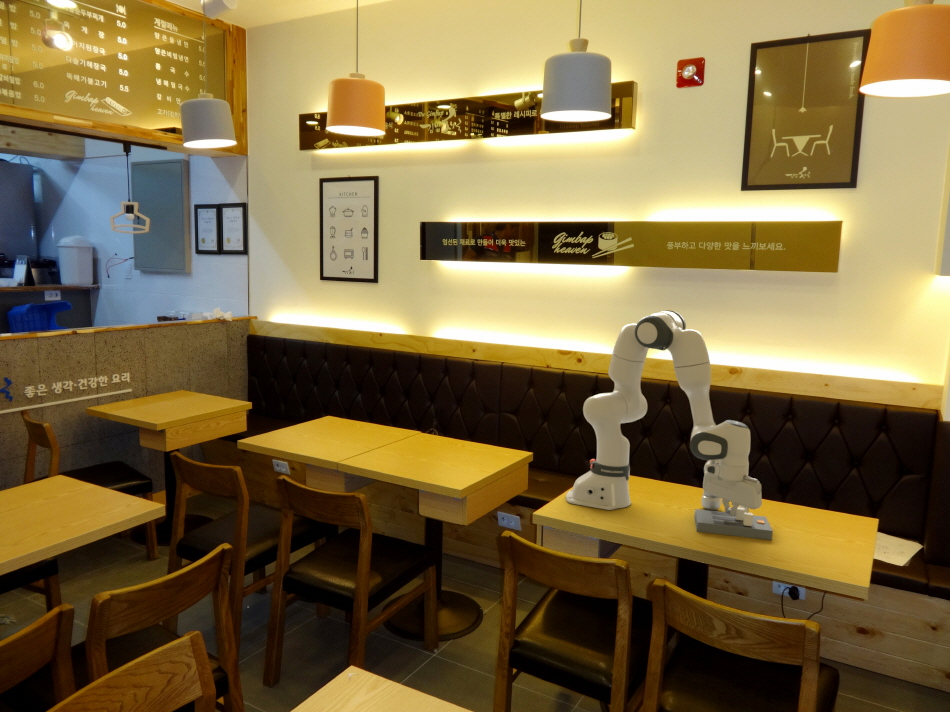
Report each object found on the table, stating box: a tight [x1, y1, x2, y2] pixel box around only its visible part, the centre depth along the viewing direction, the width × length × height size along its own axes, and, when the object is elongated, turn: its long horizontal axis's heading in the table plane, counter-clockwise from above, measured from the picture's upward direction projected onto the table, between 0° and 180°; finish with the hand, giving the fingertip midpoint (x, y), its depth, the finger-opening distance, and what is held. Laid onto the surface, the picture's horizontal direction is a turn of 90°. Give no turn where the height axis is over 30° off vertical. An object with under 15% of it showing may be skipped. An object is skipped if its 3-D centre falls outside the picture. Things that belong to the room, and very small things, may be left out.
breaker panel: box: [694, 508, 773, 541], centre depth 223 cm, size 22×13×3 cm, turn 76°
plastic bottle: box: [701, 459, 722, 511], centre depth 240 cm, size 6×7×20 cm
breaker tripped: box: [735, 506, 745, 520], centre depth 222 cm, size 2×2×4 cm
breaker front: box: [743, 512, 754, 526], centre depth 217 cm, size 2×2×4 cm
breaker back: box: [739, 505, 750, 513], centre depth 226 cm, size 2×2×4 cm
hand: (729, 514), depth 223 cm, fingers closed
